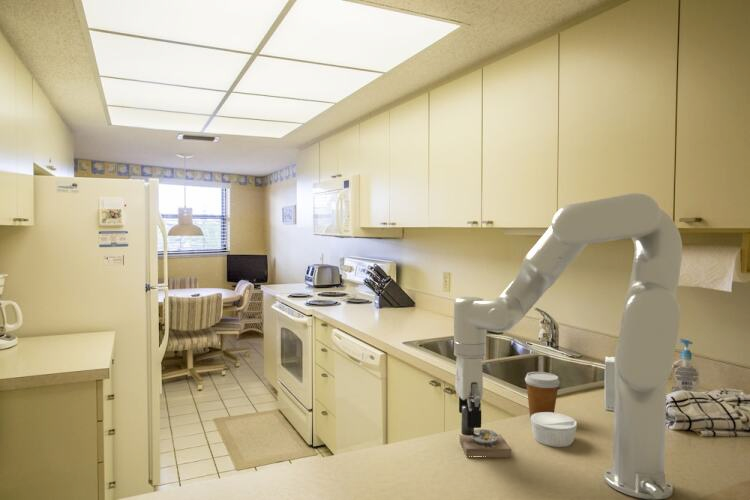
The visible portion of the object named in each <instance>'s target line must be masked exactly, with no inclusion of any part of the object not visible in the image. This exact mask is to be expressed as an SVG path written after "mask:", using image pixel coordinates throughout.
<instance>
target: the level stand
mask: <svg viewBox="0 0 750 500" xmlns="http://www.w3.org/2000/svg"><path fill="white" fill-rule="evenodd" d="M459 444H461V445H460V446H462V447H461V449H462V448H463V449H462V451H463V453H464V455H466V456H467V457H466V456H465V457H466V458H474V457H473V456H482V457H481V458H511V457H512V449H511V447H510V446H509V444H508V442H507V441H506V440H505V438H504V436H503V435H502V434H497V443H495V444H493V445H482V444H478V443H475V442H474V441H472V435H471V436H467V435H463V434H459ZM469 456H470V457H469ZM471 456H472V457H471ZM483 456H484V457H483ZM485 456H486V457H485Z"/></svg>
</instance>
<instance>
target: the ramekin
mask: <svg viewBox="0 0 750 500" xmlns="http://www.w3.org/2000/svg"><path fill="white" fill-rule="evenodd" d="M530 423H531V428H532V429H531V430H532V436H533V438H534V439H535V440H536V442H538V443H539V444H541V445H543V446H544V445H545V446H547V447H553V448H566V447H568V446H571V445H572V444H573V442H574V440H575V437H576V436H575V435H576V430H577V427H578V422H577V421H576V419H574V418H572V417H571V416H568V415H566V414H563V413H558V412H554V413H552V412H540V413H535V414H533V415H532V416H531V417H530Z"/></svg>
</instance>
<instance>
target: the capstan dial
mask: <svg viewBox="0 0 750 500" xmlns="http://www.w3.org/2000/svg"><path fill="white" fill-rule="evenodd" d="M467 410H468V404H466V405H462V413H461V427H460V429H461V435H467V436H471V435H472V441H474V442H475V443H478V444H482V445H493V444H495V443H497V435H498V434H497V432H495V431H492V430H489V429H484V428H482V429H481V428H477V429H475V428H468V427H467Z"/></svg>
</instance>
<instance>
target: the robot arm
mask: <svg viewBox="0 0 750 500" xmlns="http://www.w3.org/2000/svg"><path fill="white" fill-rule="evenodd" d="M624 239H625V240H626V239H631V240H632V242H633V245H634V254H633V261H632V270H631V274H630V281H629V285H628V288H627V292H626V296H625V298H624V302H623V308H622V309H623V310H622V316H621V323H620V328H619V332H618V333H619V334H618V340H617V344H616V347H615V351H614V357H615V360H614V365H615V393H614V411H613V430H612V431H613V435H612V437H613V438H612V466H610V467H608V468H606V469H605V470H604V473H603V475H604V481H605V482H606V483H607V484H608V485H609V486H610V487H611V488H613V489H614V490H616V491H618V492H620V493H622V494H625V495H627V496H630V497H632V498H633V497H634V498H637V499H644V500H664V499H667V498H670V497H671V496H672V494H673V493H674V492H673V489H674V486H673V484H672V483H671V482H670V480H669V479H667V478H666V474H665V457H666V456H665V454H666V453H665V452H666V417H667V382H668V379H670V375H671V372H672V368H673V363H674V358H675V353H676V346H677V341H678V337H679V331H680V323H681V317H682V315H681V311H682V310H681V306H680V303H679V301H678V299H677V298H678V295H677V294H678V287H679V282H680V281H679V280H680V273H681V266H682V265H681V264H682V260H683V259H682V258H683V242H682V237H681V233H680V230H679V229H678V227H677V224H676V223H675V221H674V220H673V219H672V217H670V215H669V214H668V213H667V212H666V211H665V210H663V209H662V208H661V207H660V205H659V203H658V202H657V200H655V199H654V198H653V197H652V196H649V195H647V194H645V193H640V192H639V193H638V192H635V193H634V192H633V193H626V194H621V195H615V196H611V197H604V198H600V199H595V200H594V199H593V200H588V201H584V202H577V203H570V204H567V205H564V206H562V207H561V208H560V209H558V210H557V211H556V212H555V213H554V216H553V217H552V221H551V224H550V225H549V227H548V228H547V229H546V230H545V232H544V233H543V234H542V236H541V237H540V238H539V239H538V241H537V242H536V243H535V244H534V245H533V246H532V248H531V249H530V250H529V251H528V252H527V253H526V254H525V256H524V258H523V260H522V263H521V267H520V269H519V271H518V273H517V274H516V275H515V277H514V278H513V280H512V281H511V283H510V284H509V285H508V286H507V287H506V289H505V290H504V291H503V292H502V293H501V294H500V296H499V297H497V298H495V299H490V300H484V299H483V298H481V297H477V296H460V297H457V298H456V299H455V300H454V302H453V356H455V357H456V358H455V362H456V363H455V377H454V378H455V380H454V383H455V384H454V387H455V391H456V393H457V395H458V412H459V414H462V405H466V404H468V410H467V427H468V428H474V429H481V427H482V405H481V404H482V403H481V400H482V399H483V393H484V388H483V387H484V384H483V383H484V381H483V380H484V379H483V378H484V377H483V359H482V358H485V357H486V355H487V354H486V353H487V349H486V348H487V344H486V343H487V340H486V339H487V331H489V332H493V333H506V332H508V331H510V330H511V329H512V328H513V327H515V326H516V325H517V324H518V323H520V322H521V320H523V318H524V317H525V316H526V315H527V313H528V312H529V311H530V310H531V309H532V308H533V307H534V305H535V304H537V302H538V301H539V300H540V298H541V297H542V296H543V295H544V294H545V293H546V291H548V290H549V289H550V288H551V287H552V286H553V285H554V284H555V283H556V282H557V280H558V279H559V278H560V277H561V275H563V273H564V272H565V271H566V270H567V269H568V267H569V266H570V265H571V264H572V263H573V261H575V259H577V257H578V256H579V255H580V254H581V253H582V251H583V250H584V249H585V248H586V247H587V245H589V244H596V243H604V242H610V241H612V242H613V241H617V240H618V241H619V240H624Z"/></svg>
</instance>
